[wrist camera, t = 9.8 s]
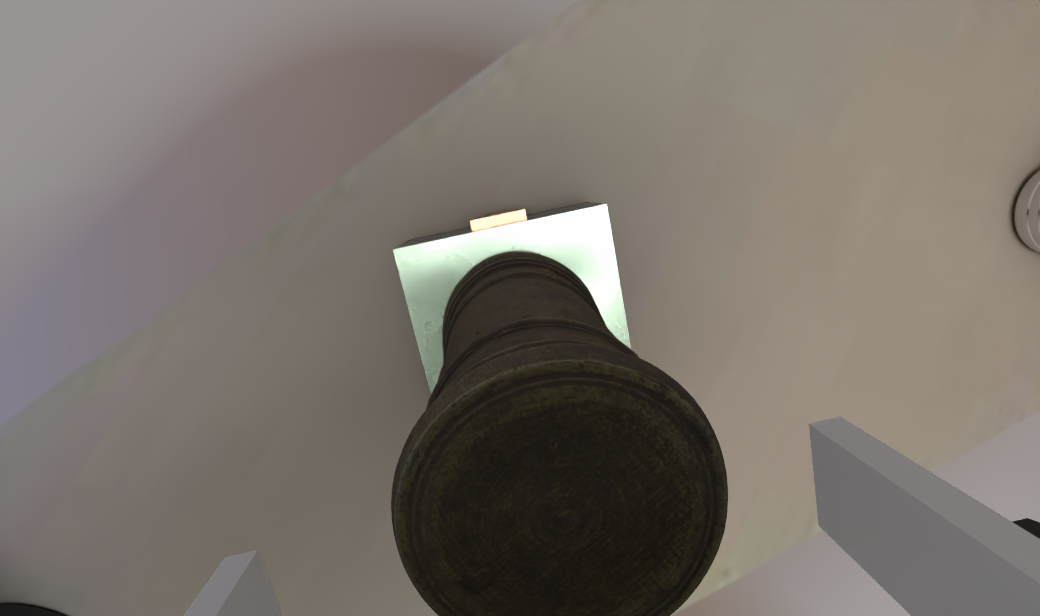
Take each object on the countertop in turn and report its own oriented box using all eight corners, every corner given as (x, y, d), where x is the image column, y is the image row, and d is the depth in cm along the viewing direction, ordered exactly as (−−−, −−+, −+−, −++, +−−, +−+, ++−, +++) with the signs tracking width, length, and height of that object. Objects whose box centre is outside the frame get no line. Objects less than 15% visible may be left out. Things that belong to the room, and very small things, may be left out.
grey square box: (451, 406, 37) (444, 446, 31) (407, 231, 35) (389, 238, 29) (616, 370, 37) (640, 403, 32) (585, 193, 35) (604, 193, 29)
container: (486, 223, 29) (476, 270, 11) (627, 296, 30) (816, 440, 13) (416, 364, 30) (310, 599, 13) (553, 427, 32) (629, 721, 14)
